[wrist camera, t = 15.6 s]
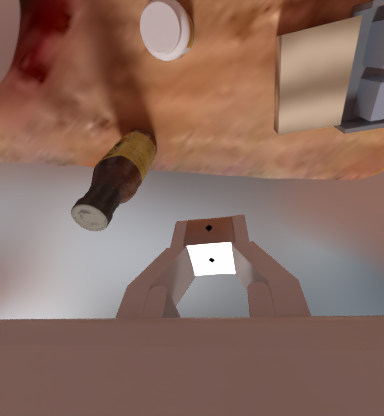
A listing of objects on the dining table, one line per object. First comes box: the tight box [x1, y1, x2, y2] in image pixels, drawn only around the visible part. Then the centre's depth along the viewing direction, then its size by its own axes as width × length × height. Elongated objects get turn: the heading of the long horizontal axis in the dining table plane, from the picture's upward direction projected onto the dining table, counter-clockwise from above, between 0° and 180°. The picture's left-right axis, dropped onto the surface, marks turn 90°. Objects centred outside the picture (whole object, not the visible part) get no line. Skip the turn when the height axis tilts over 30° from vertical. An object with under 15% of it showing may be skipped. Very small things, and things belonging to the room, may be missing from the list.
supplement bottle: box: [140, 0, 194, 61], centre depth 24 cm, size 5×5×10 cm
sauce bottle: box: [71, 130, 157, 231], centre depth 30 cm, size 6×6×20 cm
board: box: [274, 15, 362, 135], centre depth 29 cm, size 12×8×3 cm
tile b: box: [353, 75, 384, 121], centre depth 28 cm, size 4×4×2 cm
